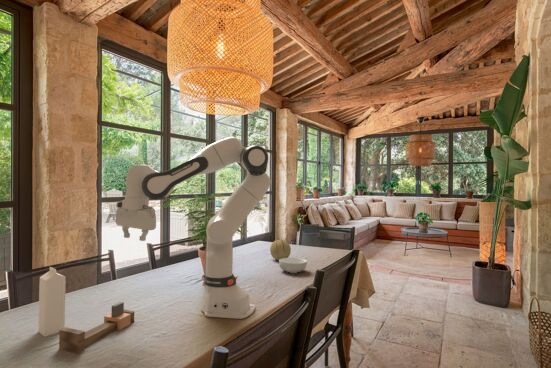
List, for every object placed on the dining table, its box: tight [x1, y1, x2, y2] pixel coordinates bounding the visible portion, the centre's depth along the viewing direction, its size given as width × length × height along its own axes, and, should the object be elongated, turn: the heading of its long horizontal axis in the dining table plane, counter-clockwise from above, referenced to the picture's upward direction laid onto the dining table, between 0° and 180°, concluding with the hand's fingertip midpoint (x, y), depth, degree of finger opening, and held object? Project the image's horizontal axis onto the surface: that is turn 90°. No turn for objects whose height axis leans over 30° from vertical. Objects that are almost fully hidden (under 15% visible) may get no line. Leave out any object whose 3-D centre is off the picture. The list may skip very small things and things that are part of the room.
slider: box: [103, 301, 132, 331], centre depth 116 cm, size 7×5×8 cm
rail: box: [58, 309, 135, 355], centre depth 109 cm, size 8×24×6 cm, turn 162°
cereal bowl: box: [278, 257, 308, 274], centre depth 194 cm, size 17×17×7 cm
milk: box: [37, 266, 67, 337], centre depth 111 cm, size 6×6×22 cm
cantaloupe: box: [269, 238, 292, 261], centre depth 224 cm, size 15×15×15 cm
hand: (134, 239), depth 127 cm, fingers open, 8 cm apart
